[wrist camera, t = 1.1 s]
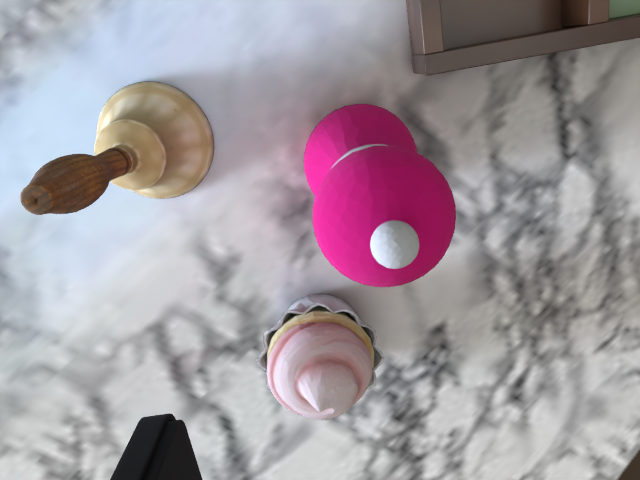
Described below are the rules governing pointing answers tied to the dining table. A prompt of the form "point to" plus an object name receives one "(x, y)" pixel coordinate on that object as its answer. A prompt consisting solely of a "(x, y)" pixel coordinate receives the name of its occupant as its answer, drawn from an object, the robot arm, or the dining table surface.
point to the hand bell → (130, 152)
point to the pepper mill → (376, 198)
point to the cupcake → (320, 357)
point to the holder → (511, 29)
